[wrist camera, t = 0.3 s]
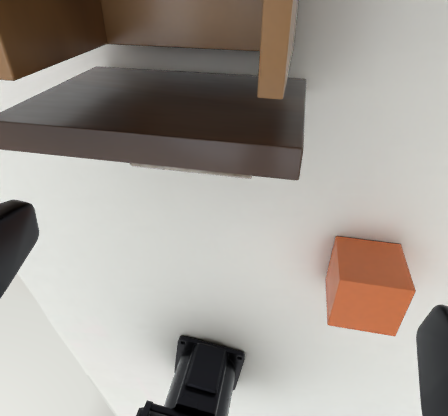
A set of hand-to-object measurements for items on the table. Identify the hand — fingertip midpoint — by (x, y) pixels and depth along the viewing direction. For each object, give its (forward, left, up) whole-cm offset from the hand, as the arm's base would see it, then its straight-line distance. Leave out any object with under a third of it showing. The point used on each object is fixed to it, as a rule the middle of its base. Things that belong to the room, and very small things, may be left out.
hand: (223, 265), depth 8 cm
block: (-11, -9, -14) cm, 20 cm away
